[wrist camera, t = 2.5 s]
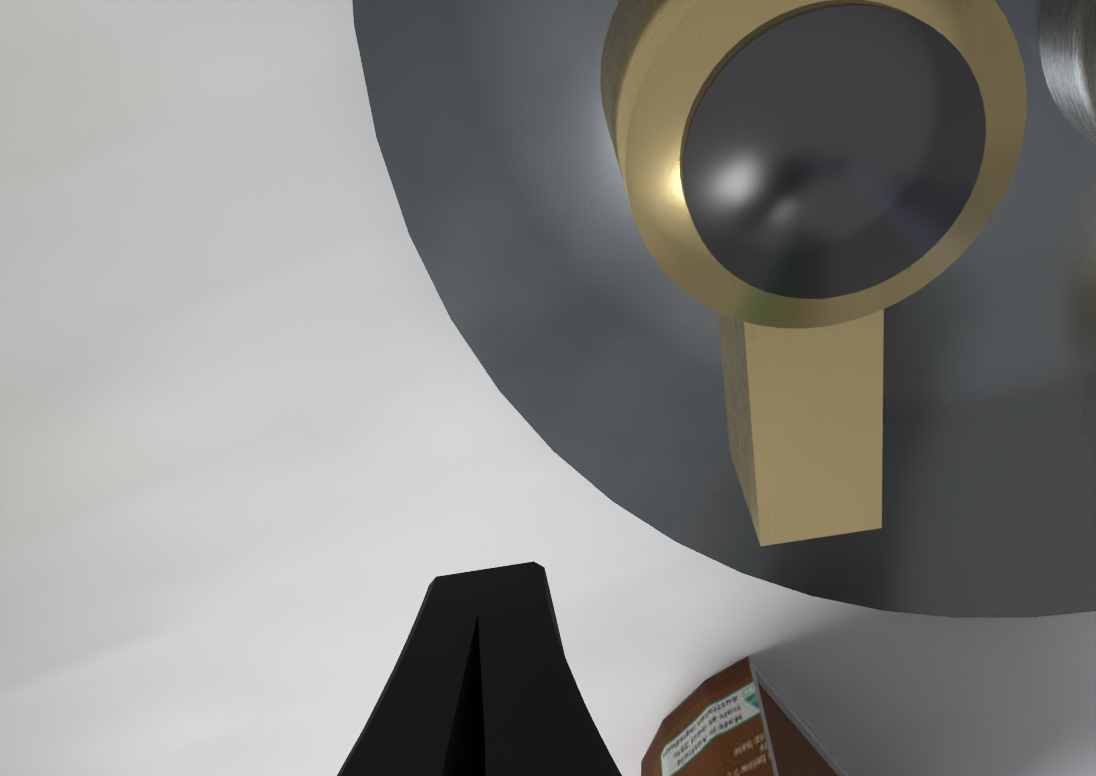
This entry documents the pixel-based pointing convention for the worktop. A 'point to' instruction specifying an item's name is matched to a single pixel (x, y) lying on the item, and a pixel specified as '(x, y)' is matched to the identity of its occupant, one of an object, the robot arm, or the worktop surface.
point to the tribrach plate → (692, 328)
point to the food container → (737, 732)
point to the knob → (810, 206)
